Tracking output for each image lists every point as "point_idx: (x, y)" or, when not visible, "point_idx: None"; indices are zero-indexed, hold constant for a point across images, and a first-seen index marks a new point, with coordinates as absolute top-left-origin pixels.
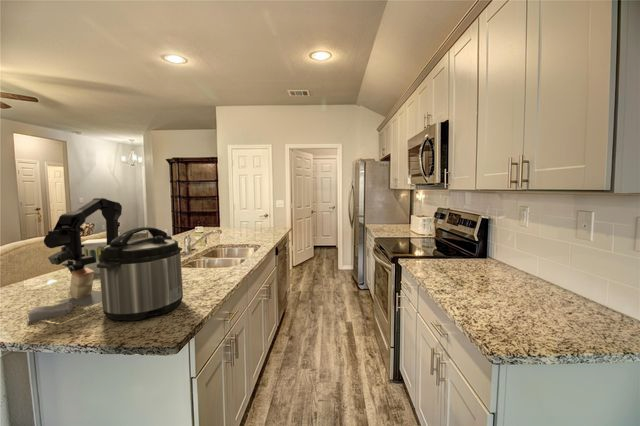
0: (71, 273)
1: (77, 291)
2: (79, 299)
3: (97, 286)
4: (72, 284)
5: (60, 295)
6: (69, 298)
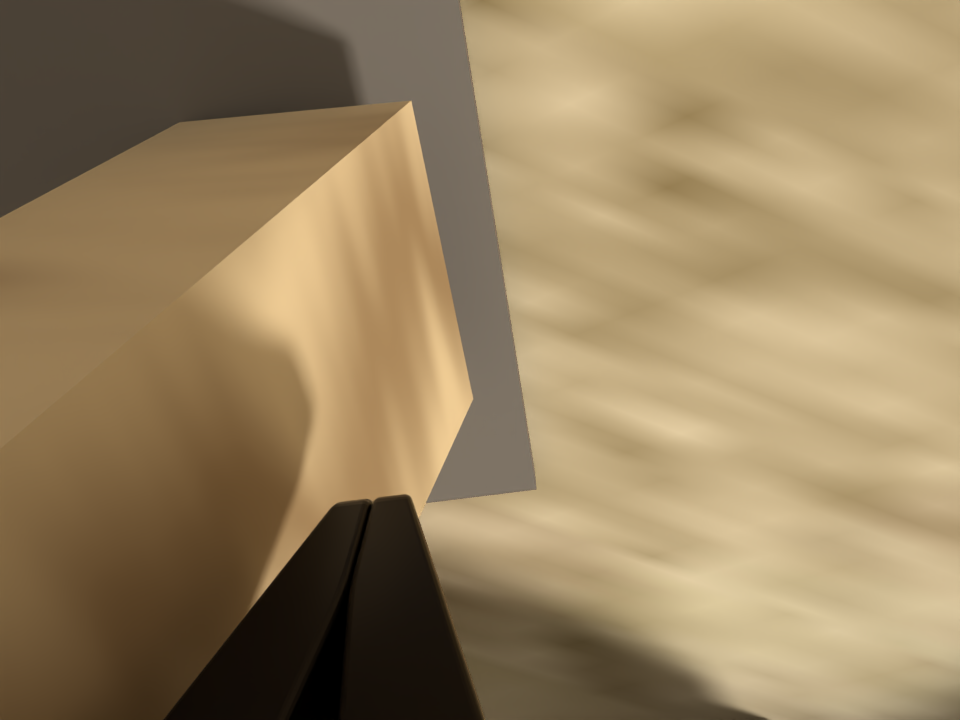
0: (437, 696)
1: (24, 205)
2: (108, 147)
3: (719, 597)
4: (128, 267)
5: (946, 119)
6: (400, 75)
